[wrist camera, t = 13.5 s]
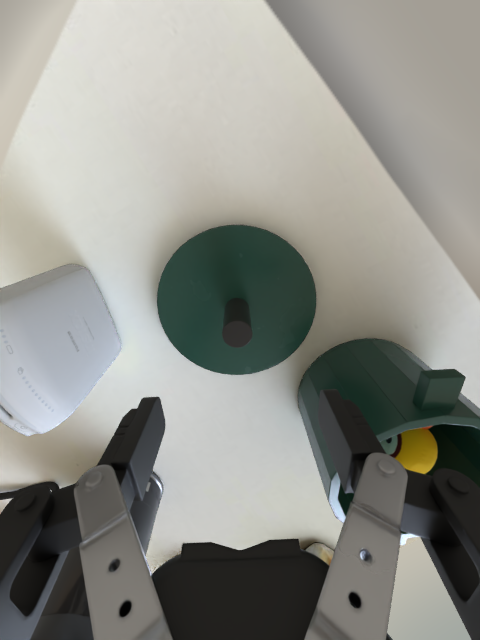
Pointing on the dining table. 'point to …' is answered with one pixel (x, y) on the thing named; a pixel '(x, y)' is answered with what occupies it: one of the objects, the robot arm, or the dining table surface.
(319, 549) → the pastry
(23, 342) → the photo printer
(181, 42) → the dining table surface
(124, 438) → the robot arm
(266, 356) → the lid
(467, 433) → the pot
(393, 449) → the duckling
